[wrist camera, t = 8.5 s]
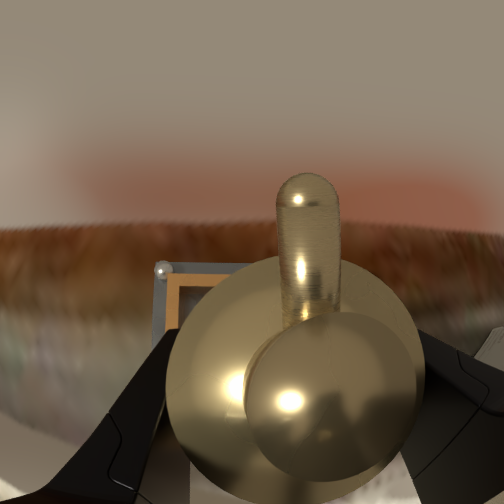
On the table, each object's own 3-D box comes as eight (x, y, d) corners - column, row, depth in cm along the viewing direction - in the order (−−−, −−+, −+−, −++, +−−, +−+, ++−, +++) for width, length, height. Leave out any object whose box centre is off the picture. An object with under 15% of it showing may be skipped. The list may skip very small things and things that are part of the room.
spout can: (311, 403, 14) (490, 483, 2) (213, 418, 13) (180, 582, 2) (295, 297, 16) (442, 164, 4) (198, 309, 15) (121, 177, 4)
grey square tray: (330, 276, 20) (360, 253, 15) (334, 435, 17) (366, 456, 12) (165, 274, 19) (147, 250, 15) (165, 440, 16) (146, 466, 11)
